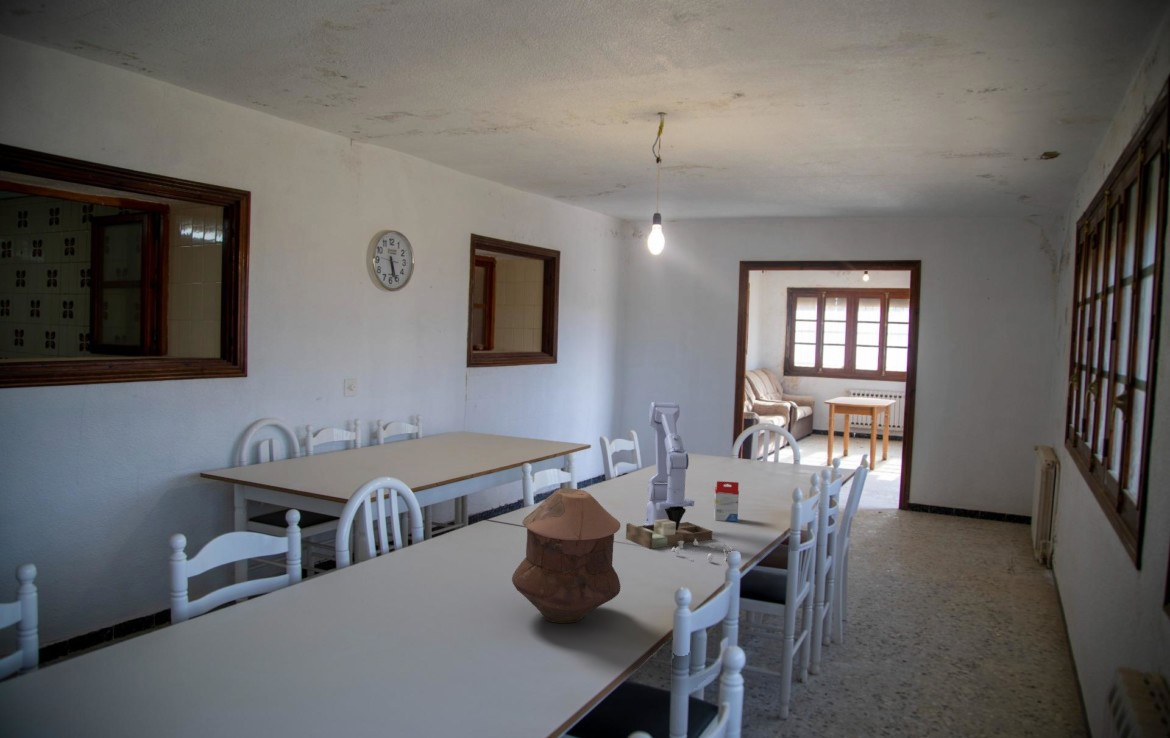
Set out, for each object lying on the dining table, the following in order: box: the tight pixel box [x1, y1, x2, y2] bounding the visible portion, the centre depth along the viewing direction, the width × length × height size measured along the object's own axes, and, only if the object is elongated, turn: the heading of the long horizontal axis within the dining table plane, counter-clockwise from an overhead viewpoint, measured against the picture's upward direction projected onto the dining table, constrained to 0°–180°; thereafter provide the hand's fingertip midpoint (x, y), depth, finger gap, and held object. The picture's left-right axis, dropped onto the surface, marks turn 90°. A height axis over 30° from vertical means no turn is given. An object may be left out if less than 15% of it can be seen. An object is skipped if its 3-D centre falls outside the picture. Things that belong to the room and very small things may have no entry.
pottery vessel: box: [511, 487, 621, 624], centre depth 180 cm, size 26×26×30 cm
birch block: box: [654, 519, 676, 536], centre depth 249 cm, size 5×5×4 cm
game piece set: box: [671, 539, 734, 564], centre depth 238 cm, size 19×20×4 cm
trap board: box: [625, 521, 713, 550], centre depth 254 cm, size 15×26×5 cm, turn 122°
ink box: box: [713, 480, 740, 523], centre depth 284 cm, size 8×5×15 cm, turn 84°
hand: (674, 529), depth 251 cm, fingers closed
